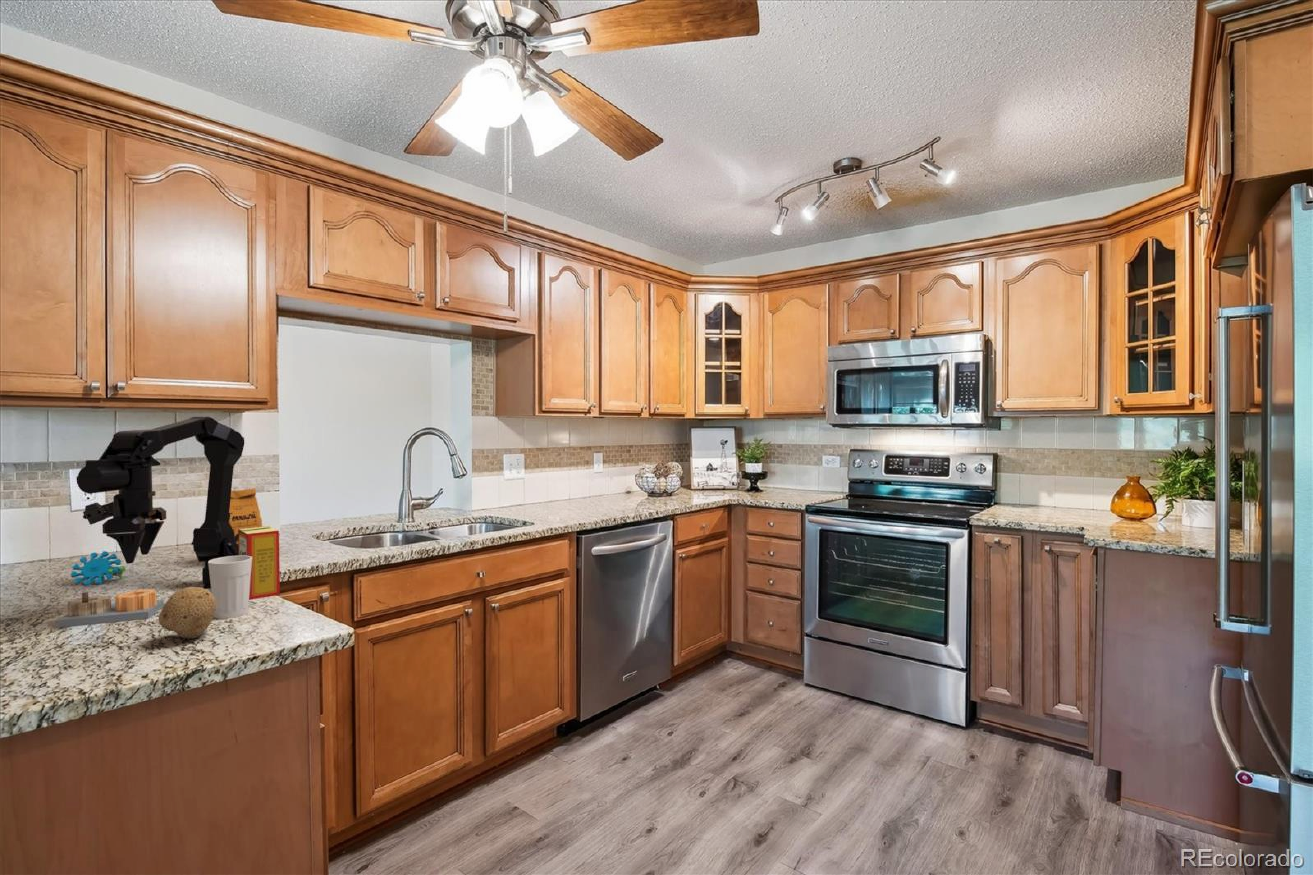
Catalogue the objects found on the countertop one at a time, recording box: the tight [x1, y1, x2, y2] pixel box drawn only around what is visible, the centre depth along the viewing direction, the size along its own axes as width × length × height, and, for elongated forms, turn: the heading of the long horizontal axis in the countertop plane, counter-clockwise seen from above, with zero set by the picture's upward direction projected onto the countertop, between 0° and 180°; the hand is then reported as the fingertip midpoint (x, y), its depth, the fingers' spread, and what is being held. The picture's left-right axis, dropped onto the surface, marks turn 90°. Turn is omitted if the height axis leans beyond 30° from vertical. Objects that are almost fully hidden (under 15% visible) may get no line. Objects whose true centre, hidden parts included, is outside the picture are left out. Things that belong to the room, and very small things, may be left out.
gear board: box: [56, 599, 165, 628], centre depth 136 cm, size 15×10×4 cm, turn 113°
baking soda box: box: [238, 525, 281, 601], centre depth 154 cm, size 10×6×16 cm
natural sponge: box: [158, 586, 217, 639], centre depth 122 cm, size 9×9×10 cm
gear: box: [70, 550, 127, 587], centre depth 165 cm, size 11×6×10 cm
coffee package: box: [229, 487, 263, 544], centre depth 185 cm, size 10×12×22 cm
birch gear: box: [67, 591, 112, 616], centre depth 134 cm, size 7×7×4 cm
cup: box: [208, 556, 252, 619], centre depth 137 cm, size 8×8×12 cm
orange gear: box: [114, 588, 157, 612], centre depth 137 cm, size 7×7×3 cm
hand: (137, 558), depth 139 cm, fingers open, 9 cm apart
